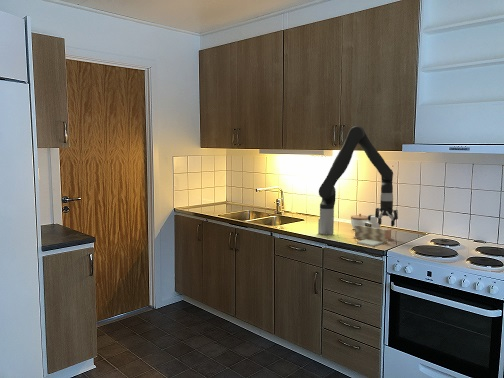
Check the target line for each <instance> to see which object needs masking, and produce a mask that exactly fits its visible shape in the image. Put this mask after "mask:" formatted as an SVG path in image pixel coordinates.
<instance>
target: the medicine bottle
mask: <svg viewBox="0 0 504 378" xmlns="http://www.w3.org/2000/svg"><path fill="white" fill-rule="evenodd" d="M367 216H368V222H365V226H366V227H373V228H379V229H381V227H380V226H381V225H379V224H378V218H377V217H375V214H369V215H367Z"/></svg>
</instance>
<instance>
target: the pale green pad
mask: <svg viewBox="0 0 504 378" xmlns="http://www.w3.org/2000/svg"><path fill="white" fill-rule="evenodd" d="M356 244H358V245H363V246H368V247H376V246H380V245H383V243H382V242H379V241H373V240H368V239H365V240H361V239H360V240H358V241H356Z"/></svg>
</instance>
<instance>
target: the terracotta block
mask: <svg viewBox="0 0 504 378" xmlns="http://www.w3.org/2000/svg"><path fill="white" fill-rule="evenodd" d="M383 229H385V241H388V240H391V239H392V228H386V227H385V228H384V227H383Z"/></svg>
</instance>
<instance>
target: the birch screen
mask: <svg viewBox="0 0 504 378" xmlns="http://www.w3.org/2000/svg"><path fill="white" fill-rule="evenodd" d="M385 229H386V228H385ZM385 229H384V228H380V229H379V228H373V227H366V226H360V225H355V229H354V236H353V239H357V240H360V241H361V240H365V239H368V240H373V241H379V242H382V244H385V243H387V240H385Z"/></svg>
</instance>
